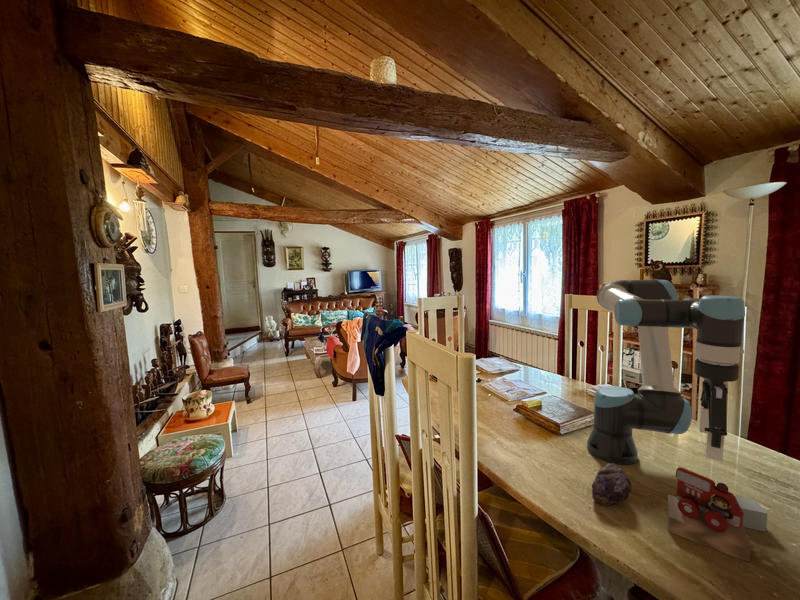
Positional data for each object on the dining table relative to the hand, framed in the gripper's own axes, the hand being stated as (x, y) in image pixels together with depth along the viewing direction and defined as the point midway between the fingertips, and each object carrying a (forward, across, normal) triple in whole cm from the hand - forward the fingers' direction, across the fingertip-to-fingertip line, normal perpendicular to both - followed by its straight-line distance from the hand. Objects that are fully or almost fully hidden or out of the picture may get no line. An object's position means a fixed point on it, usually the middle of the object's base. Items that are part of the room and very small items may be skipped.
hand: (709, 445), depth 78 cm
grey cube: (+23, +10, -9) cm, 27 cm away
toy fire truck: (+19, 0, 0) cm, 19 cm away
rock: (+23, 0, +20) cm, 31 cm away
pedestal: (+23, 0, 0) cm, 23 cm away
